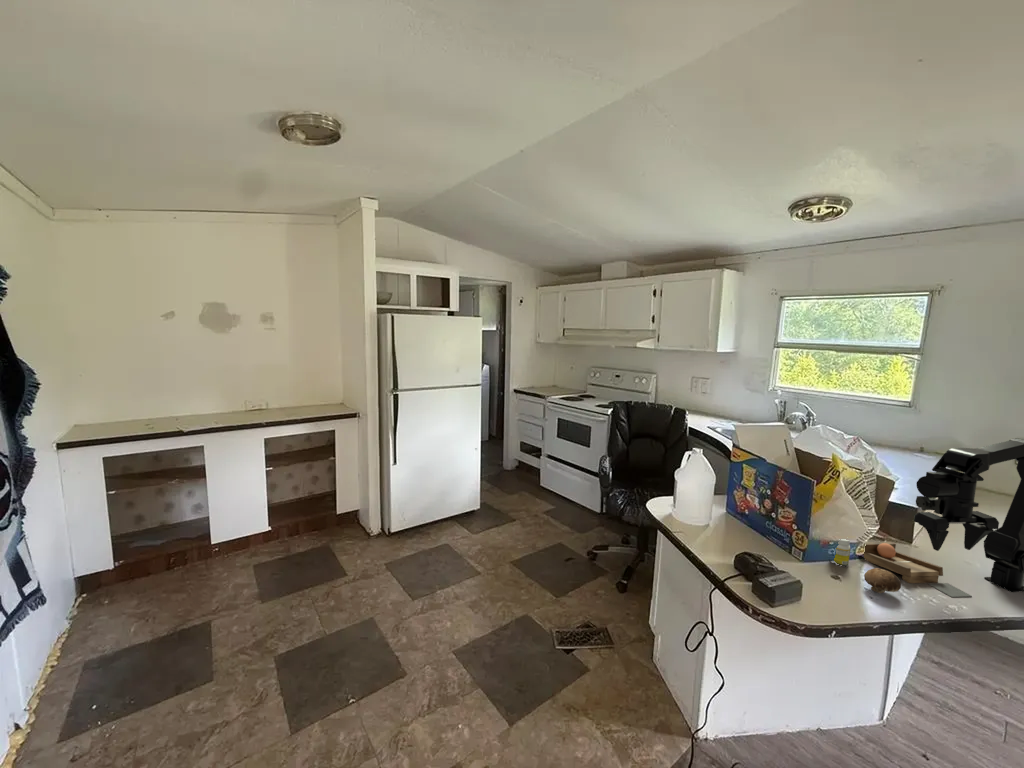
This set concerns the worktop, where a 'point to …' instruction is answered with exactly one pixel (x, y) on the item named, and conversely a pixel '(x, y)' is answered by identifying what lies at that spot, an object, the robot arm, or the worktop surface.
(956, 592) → the coaster
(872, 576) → the mushroom
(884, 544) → the ball
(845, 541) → the supplement bottle
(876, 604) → the worktop surface
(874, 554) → the tray
